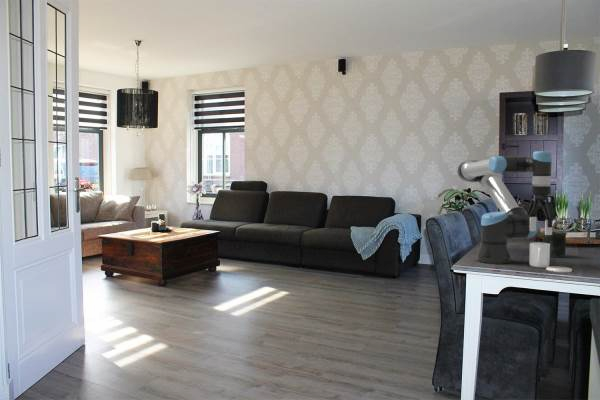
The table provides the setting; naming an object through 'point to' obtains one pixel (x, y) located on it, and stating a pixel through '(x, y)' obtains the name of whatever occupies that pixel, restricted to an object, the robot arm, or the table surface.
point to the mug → (555, 243)
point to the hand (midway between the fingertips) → (540, 232)
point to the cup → (539, 254)
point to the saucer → (559, 269)
